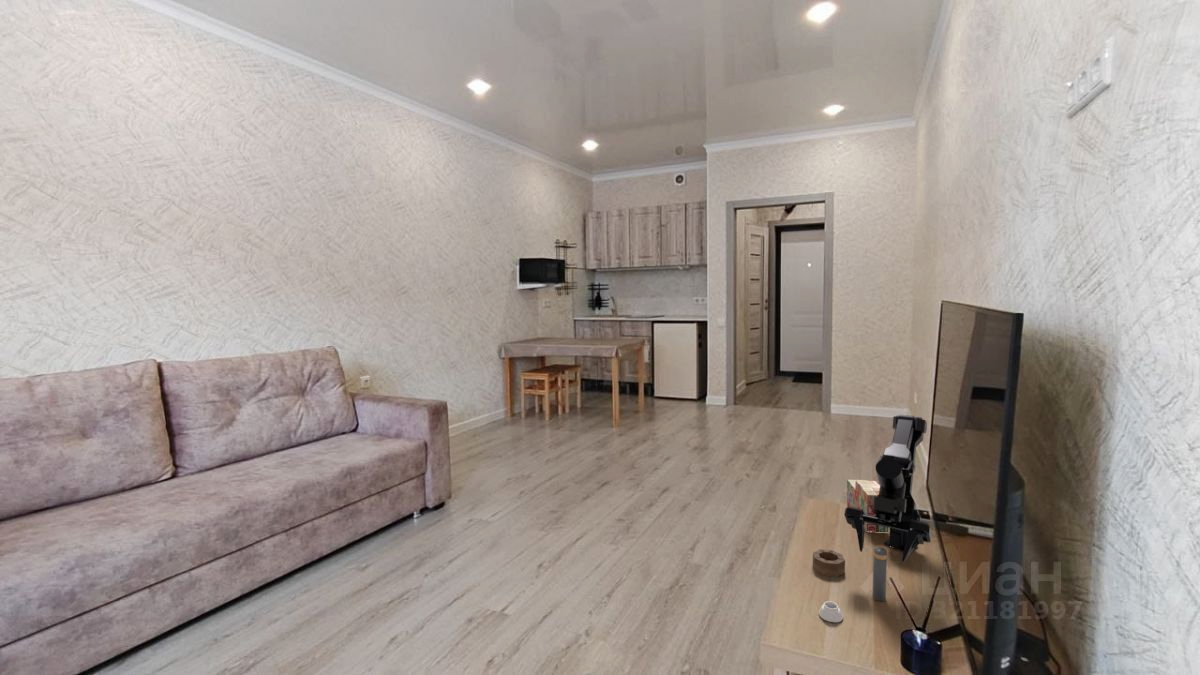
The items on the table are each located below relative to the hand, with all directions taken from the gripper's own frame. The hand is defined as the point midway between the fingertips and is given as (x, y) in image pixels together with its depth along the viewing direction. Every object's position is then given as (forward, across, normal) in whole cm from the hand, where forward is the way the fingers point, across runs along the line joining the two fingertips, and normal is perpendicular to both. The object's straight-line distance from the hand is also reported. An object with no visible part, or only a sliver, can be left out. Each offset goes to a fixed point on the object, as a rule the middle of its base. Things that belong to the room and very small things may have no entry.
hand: (881, 556), depth 130 cm
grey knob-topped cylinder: (+8, 0, +6) cm, 10 cm away
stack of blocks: (-25, -12, +38) cm, 47 cm away
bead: (+3, -13, +10) cm, 17 cm away
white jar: (+19, -7, -4) cm, 20 cm away
